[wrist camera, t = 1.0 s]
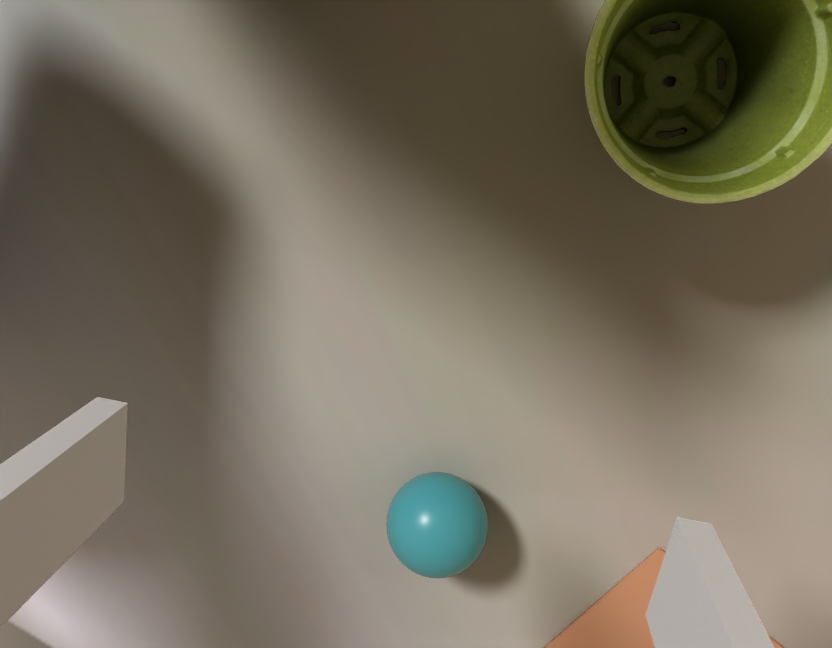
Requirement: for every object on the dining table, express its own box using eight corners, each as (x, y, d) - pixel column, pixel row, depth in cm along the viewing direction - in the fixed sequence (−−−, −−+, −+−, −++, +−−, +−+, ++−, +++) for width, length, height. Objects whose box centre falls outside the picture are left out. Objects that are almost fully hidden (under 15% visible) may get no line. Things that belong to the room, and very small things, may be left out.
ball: (389, 528, 41) (371, 588, 35) (402, 446, 39) (384, 496, 34) (481, 547, 40) (475, 611, 35) (497, 465, 39) (494, 518, 33)
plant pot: (770, -53, 30) (867, -121, 22) (782, 164, 32) (874, 178, 24) (554, -3, 32) (568, -48, 23) (580, 199, 34) (601, 224, 26)
